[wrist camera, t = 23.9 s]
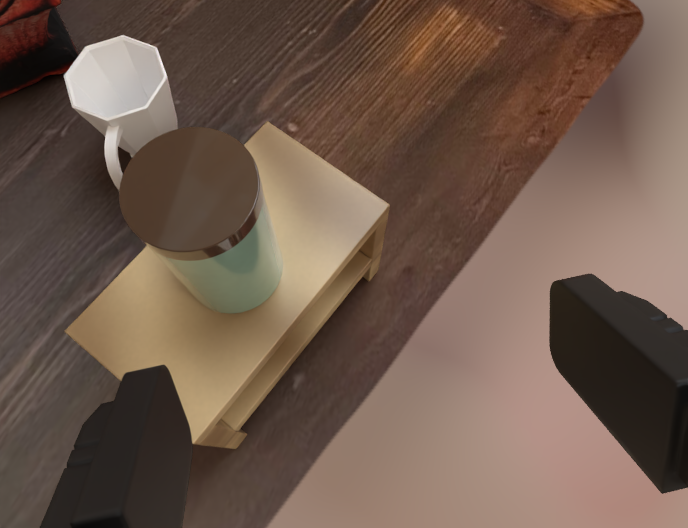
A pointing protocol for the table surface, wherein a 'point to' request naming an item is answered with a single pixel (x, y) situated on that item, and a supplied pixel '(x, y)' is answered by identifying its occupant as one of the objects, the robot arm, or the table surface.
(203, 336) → the shelf
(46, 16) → the red carved wooden box
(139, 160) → the jar
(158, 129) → the cup
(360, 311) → the table surface
